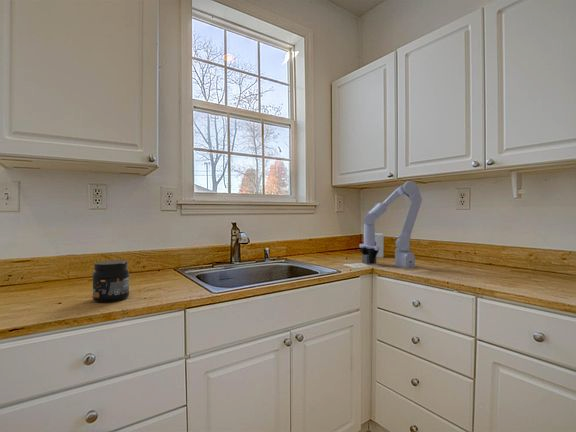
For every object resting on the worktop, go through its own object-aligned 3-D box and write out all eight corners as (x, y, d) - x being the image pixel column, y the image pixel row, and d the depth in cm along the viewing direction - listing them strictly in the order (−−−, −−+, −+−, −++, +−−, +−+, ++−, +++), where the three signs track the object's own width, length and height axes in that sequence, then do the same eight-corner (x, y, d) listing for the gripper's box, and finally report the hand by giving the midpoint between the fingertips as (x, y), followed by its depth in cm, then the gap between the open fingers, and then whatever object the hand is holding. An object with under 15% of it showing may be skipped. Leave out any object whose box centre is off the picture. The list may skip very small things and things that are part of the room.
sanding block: (376, 264, 163) (376, 255, 163) (366, 265, 160) (366, 255, 160) (371, 263, 166) (371, 254, 166) (362, 264, 164) (362, 254, 164)
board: (380, 268, 159) (380, 265, 159) (354, 270, 153) (354, 267, 153) (367, 264, 170) (367, 262, 170) (342, 266, 164) (342, 264, 164)
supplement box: (368, 257, 199) (368, 233, 199) (369, 255, 207) (369, 232, 207) (383, 257, 196) (383, 234, 196) (383, 256, 205) (383, 233, 205)
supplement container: (91, 297, 103) (91, 261, 103) (126, 293, 109) (126, 259, 109) (93, 305, 95) (93, 266, 94) (131, 300, 101) (131, 262, 101)
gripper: (354, 236, 168) (354, 261, 169) (371, 238, 155) (371, 265, 155) (365, 235, 171) (365, 260, 171) (383, 237, 158) (383, 264, 158)
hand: (369, 262), depth 163 cm, fingers closed on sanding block, 4 cm apart
